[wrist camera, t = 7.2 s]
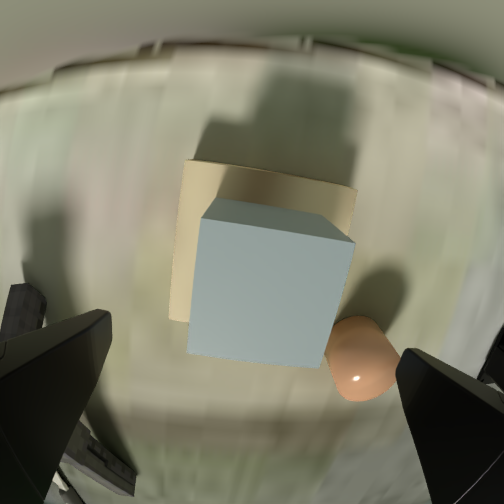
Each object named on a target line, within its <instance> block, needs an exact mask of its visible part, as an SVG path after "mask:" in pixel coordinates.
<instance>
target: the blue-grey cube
mask: <svg viewBox="0 0 504 504" xmlns="http://www.w3.org/2000/svg"><path fill="white" fill-rule="evenodd" d="M355 244H356V243H355V242H354V241H352V240H351V239H350V238H349V237H348V236H346V235H345V234H344V233H343V232H342V231H340V230H339V229H338V228H337V227H336V226H334V225H333V224H332V223H331V222H330V221H328V220H327V219H326V218H325V217H323V216H322V215H319V214H314V213H308V212H303V211H297V210H292V209H286V208H280V207H274V206H268V205H262V204H256V203H250V202H243V201H237V200H230V199H224V198H217V197H215V199H214V200H213V202H212V203H211V204H210V206H209V207H208V209H207V210H206V211H205V213H204V214H203V216H202V217H201V220H200V228H199V236H198V244H197V252H196V261H195V270H194V279H193V289H192V299H191V309H190V320H189V331H188V343H187V353H190V354H196V355H203V356H209V357H216V358H223V359H230V360H238V361H245V362H254V363H263V364H272V365H282V366H294V367H306V368H319V366H320V364H321V361H322V358H323V355H324V352H325V349H326V345H327V342H328V339H329V336H330V333H331V330H332V327H333V323H334V320H335V317H336V314H337V310H338V307H339V303H340V300H341V296H342V293H343V289H344V286H345V282H346V279H347V275H348V271H349V267H350V264H351V260H352V256H353V252H354V248H355Z"/></svg>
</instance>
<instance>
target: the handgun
mask: <svg viewBox="0 0 504 504" xmlns="http://www.w3.org/2000/svg"><path fill="white" fill-rule="evenodd" d="M46 304H47V302H46V299H45V297H44V296H42V295H41V294H40V293H39V292H38V291H37V290H35V289H34V288H33V287H32V286H31V285H30V284H29V283H23V284H14V285H11V287H10V291H9V295H8V299H7V303H6V307H5V311H4V315H3V320H2V324H1V329H0V342H3V341H6V342H7V340H9V339H12V338H15V337H17V336H20V335H23V334H26V333H29V332H32V331H35V330H38V329H41V328H42V325H43V320H44V314H45V309H46ZM90 432H91V431H90V430H89V429H88V428H87V427H86V426H85V425H83V424H82V423H81V422H80V421H78V423H77V425H76V428H75V430H74V432H73V434H72V436H71V438H70V441H69V443H68V445H67V447H66V450H65V452H64V454H63V457H62V459H61V461H60V462H64V463H69V464H71V465H72V466H74V467H75V468H76V469H78V470H79V471H81V472H82V473H84V474H85V475H87V476H88V477H90V478H92V479H93V480H95V481H96V482H98V483H100V484H101V485H103V486H104V487H106V488H108V489H109V490H111V491H113V492H115V493H116V494H118V495H124V496H131V497H134V491H135V483H136V474H135V472H134V471H133V470H132V469H130V468H129V467H128V466H126V465H125V464H124V463H123V462H121V461H120V460H119V459H118V458H116V457H115V456H114V455H113V454H112V453H110V452H109V451H108V450H107V449H106V448H105V447H103V446H102V445H101V444H100V443H99V442H98V441H97V440H95V439H94V438H93V437H92V436H91V435H90Z"/></svg>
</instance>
